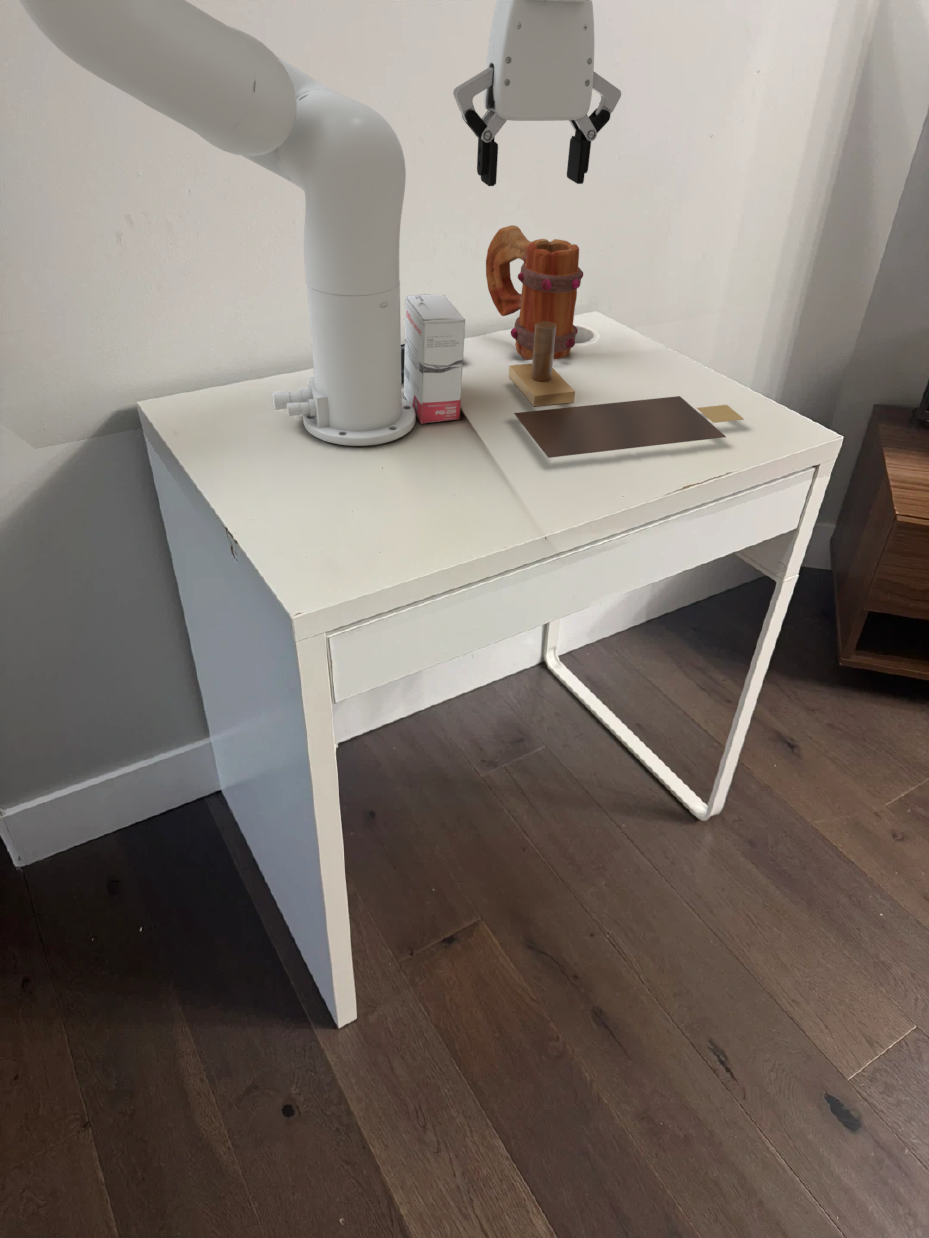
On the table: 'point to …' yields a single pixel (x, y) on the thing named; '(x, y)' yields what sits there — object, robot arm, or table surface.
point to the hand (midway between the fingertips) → (532, 182)
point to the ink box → (433, 357)
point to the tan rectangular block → (720, 413)
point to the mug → (535, 287)
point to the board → (616, 426)
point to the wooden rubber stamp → (542, 371)
